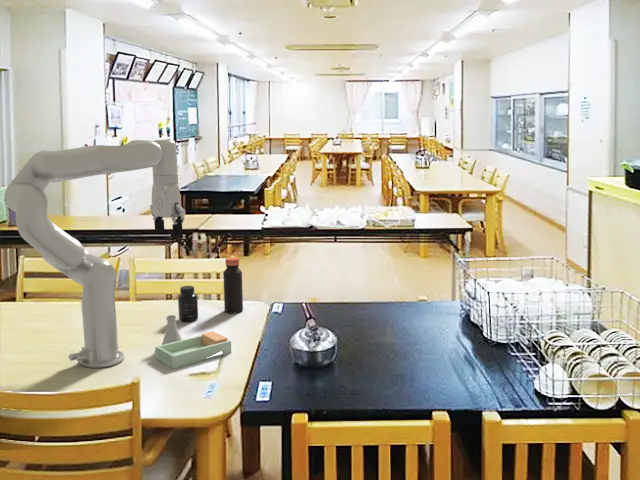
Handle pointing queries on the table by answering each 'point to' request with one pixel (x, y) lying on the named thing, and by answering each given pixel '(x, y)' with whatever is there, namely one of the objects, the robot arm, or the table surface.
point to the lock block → (212, 338)
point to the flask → (171, 331)
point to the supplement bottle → (187, 304)
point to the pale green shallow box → (189, 351)
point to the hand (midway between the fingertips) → (168, 234)
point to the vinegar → (233, 286)
